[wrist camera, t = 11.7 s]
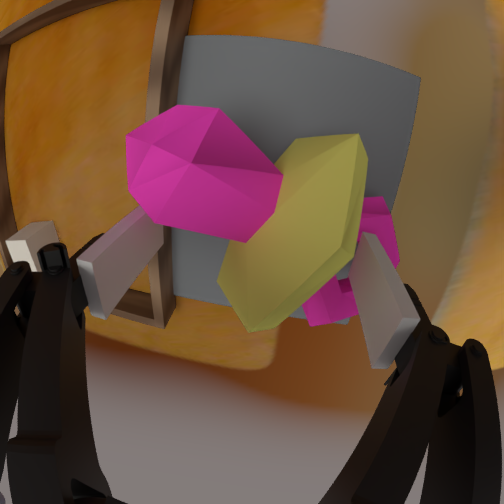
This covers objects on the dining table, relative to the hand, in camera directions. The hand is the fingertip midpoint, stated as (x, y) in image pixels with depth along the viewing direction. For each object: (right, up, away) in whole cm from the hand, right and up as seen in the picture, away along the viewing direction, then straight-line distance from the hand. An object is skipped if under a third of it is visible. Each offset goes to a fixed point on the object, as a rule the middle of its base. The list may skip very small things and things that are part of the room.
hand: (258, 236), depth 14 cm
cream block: (-26, +1, +13) cm, 29 cm away
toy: (+2, +3, +4) cm, 5 cm away
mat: (+2, +4, +7) cm, 8 cm away
